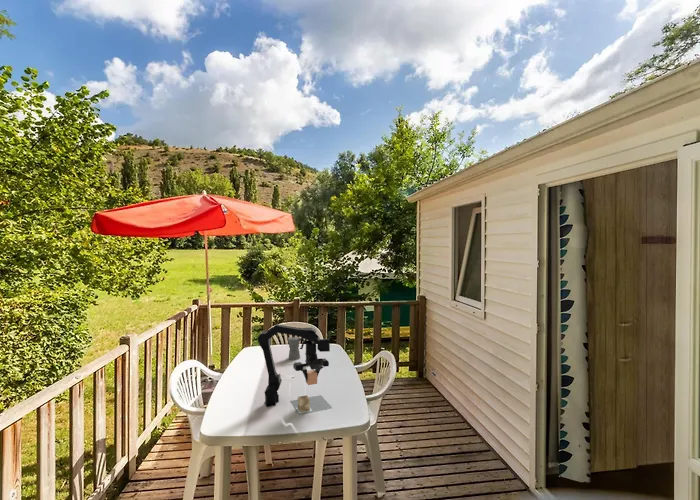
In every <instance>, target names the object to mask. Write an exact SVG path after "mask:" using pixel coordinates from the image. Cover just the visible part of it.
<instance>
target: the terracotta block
mask: <svg viewBox="0 0 700 500" xmlns="http://www.w3.org/2000/svg"><path fill="white" fill-rule="evenodd" d="M305 383H306V384H307V385H308V386H311V385H318V377H317V372H316V371H315V369H314V370H312V369H311V370H307V381H306V380H305Z"/></svg>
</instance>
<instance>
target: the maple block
mask: <svg viewBox="0 0 700 500" xmlns="http://www.w3.org/2000/svg"><path fill="white" fill-rule="evenodd" d="M309 397H310V396H308V395H307V394H306V395H302V396H297V400H298V409H299V411H300V412H305V411H309V410H310V398H309Z"/></svg>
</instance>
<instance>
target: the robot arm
mask: <svg viewBox="0 0 700 500" xmlns="http://www.w3.org/2000/svg"><path fill="white" fill-rule="evenodd" d="M277 334H284V335H290V336H293V335H295V337H299V338H303V339H304V341H303V342H302V341H301V345H302V344H304V345H305V360H304V361H305V363H302V362H301V361H299V362H298V361H297V362H294V363H293V369H294V371H296V372H300V371H301V372H302V374H303V376H304V379H305V382H306V381H307V371H308V369H307V368H309V367H310V369H311V370H315V371H316V372H317V378H318V377H319V373H320V372H321V370H322V369H323V368H325V367H329V366H330V361H329V360H328V359H326V358H318V354H317V351H319V352H320V353H322V352H323V353H324V352H325V353H326V352H328V353H329V352H330V351H331V349H330V348H331V345H330V344H331V343H330V338H320V336H319V335H318V333H317V330H316V329H315V328H314V327H296V326H295V327H294V326H288V325H282V324H279V323H276V324H274V325H273V326H271V327H270V328H269V329H267V330H264V331H261V332H260V334H259V335H258V336H257V341H258V345H259V347H260V348H261V350H262V352H263V353H262V354H263V356H264V360H265V361H264V362H265V365H266V370H267V373H268V374H267V375H268V382H267V383H268V385H267V386H266V388H265V390H264V392H263V393H264V405H265V407H266V408H269V407H274V406H277V405H276V404H277V403H279V402H280V401H279V400H280V398H279V397H280V395H279V394H278V392H279V391H278V390H279V389H280V387H281V384H282V377H281V373H278V372H277V370H276V366H275V360H274V357H273V353H272V348H271V345H272V343H271V342H272V341H271V338H273V337H274V336H275V335H277Z"/></svg>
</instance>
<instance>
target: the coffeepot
mask: <svg viewBox="0 0 700 500" xmlns="http://www.w3.org/2000/svg"><path fill="white" fill-rule="evenodd" d="M286 340H287V341H288V347H289V352H288V358H289V359H288V360H290V359H297V360H300V359H301V354H300V350H303V348H304V345H305V344H302V342H303V341H304V340H305V339H303V338H302V337H299V336H295V335H292V337H290V336H289V337H286ZM300 342H301V347H300ZM299 358H300V359H299Z"/></svg>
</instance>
